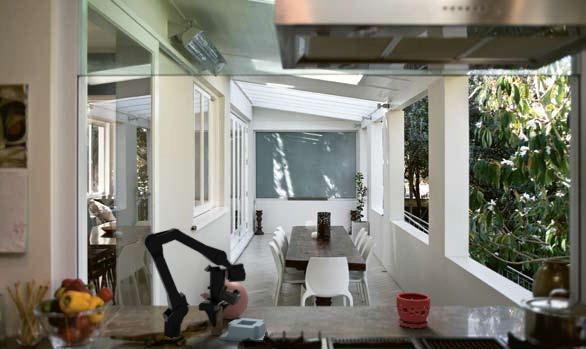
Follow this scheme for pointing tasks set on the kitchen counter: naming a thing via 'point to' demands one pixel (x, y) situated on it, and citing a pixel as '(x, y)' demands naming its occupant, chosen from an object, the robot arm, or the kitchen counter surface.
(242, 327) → the socket block
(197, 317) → the kitchen counter surface
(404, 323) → the plant pot
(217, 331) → the walnut peg
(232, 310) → the balloon
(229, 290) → the robot arm
